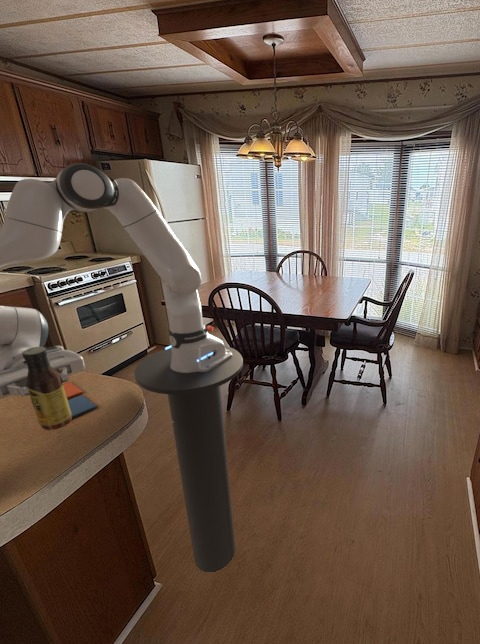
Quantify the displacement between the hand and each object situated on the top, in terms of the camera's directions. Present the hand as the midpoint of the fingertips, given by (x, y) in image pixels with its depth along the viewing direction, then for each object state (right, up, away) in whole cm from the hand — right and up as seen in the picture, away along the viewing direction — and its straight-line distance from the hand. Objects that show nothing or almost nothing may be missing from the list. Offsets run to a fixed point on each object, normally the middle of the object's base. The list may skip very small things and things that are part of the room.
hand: (46, 385), depth 77 cm
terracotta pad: (-15, -6, +24) cm, 28 cm away
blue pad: (-6, -9, +17) cm, 20 cm away
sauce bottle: (-1, -10, +5) cm, 11 cm away
